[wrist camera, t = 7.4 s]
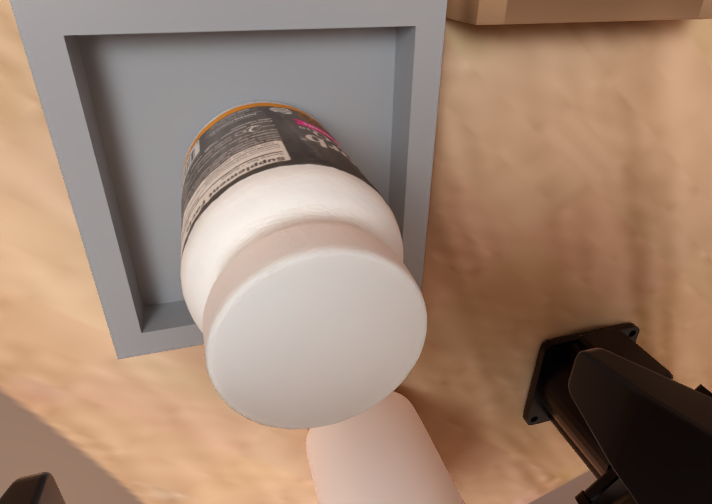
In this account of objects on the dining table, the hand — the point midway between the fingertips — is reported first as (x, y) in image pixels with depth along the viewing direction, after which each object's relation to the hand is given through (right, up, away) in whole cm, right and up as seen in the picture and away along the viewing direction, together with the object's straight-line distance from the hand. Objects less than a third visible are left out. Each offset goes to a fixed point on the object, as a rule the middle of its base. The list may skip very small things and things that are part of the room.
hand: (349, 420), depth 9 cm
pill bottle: (-3, +6, +10) cm, 12 cm away
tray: (-4, +6, +10) cm, 13 cm away
